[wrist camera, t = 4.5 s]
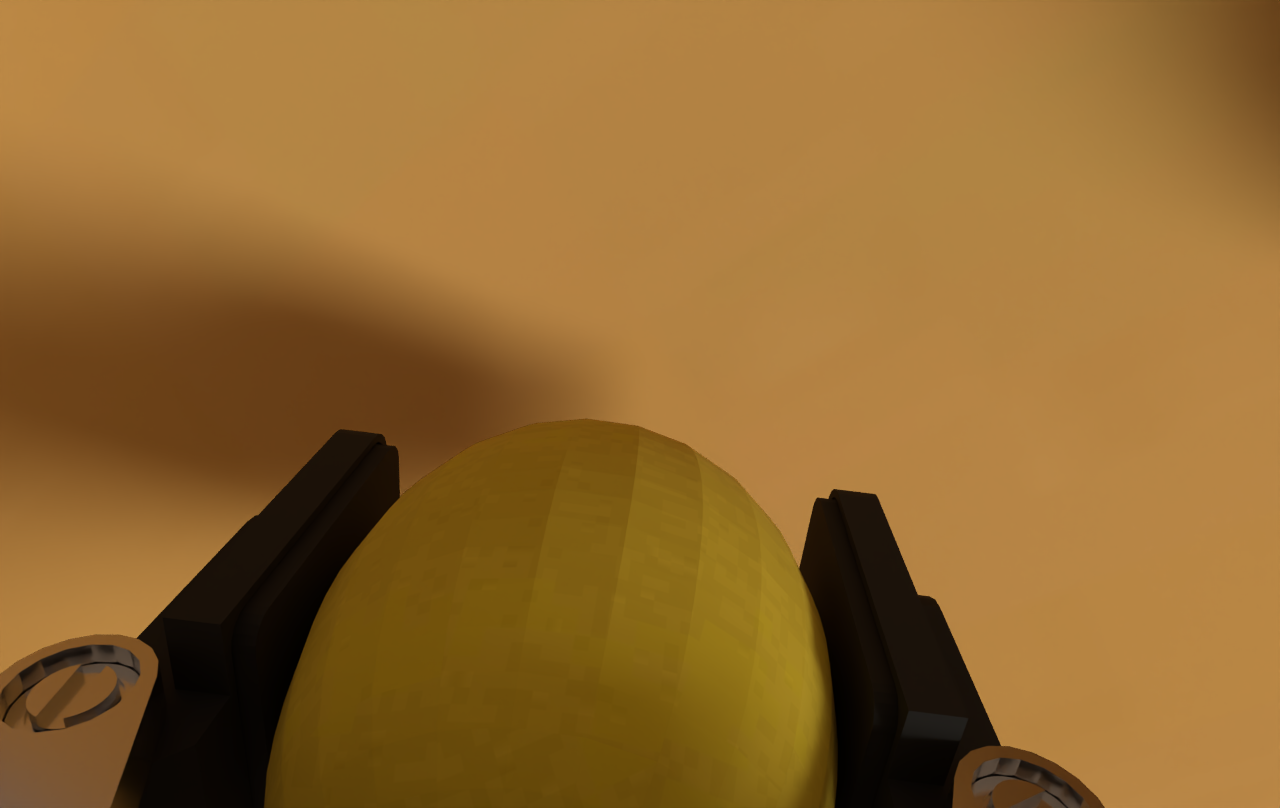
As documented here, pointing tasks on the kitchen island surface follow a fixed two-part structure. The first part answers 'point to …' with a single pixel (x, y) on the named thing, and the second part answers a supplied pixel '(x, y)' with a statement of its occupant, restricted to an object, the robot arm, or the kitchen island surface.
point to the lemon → (564, 642)
